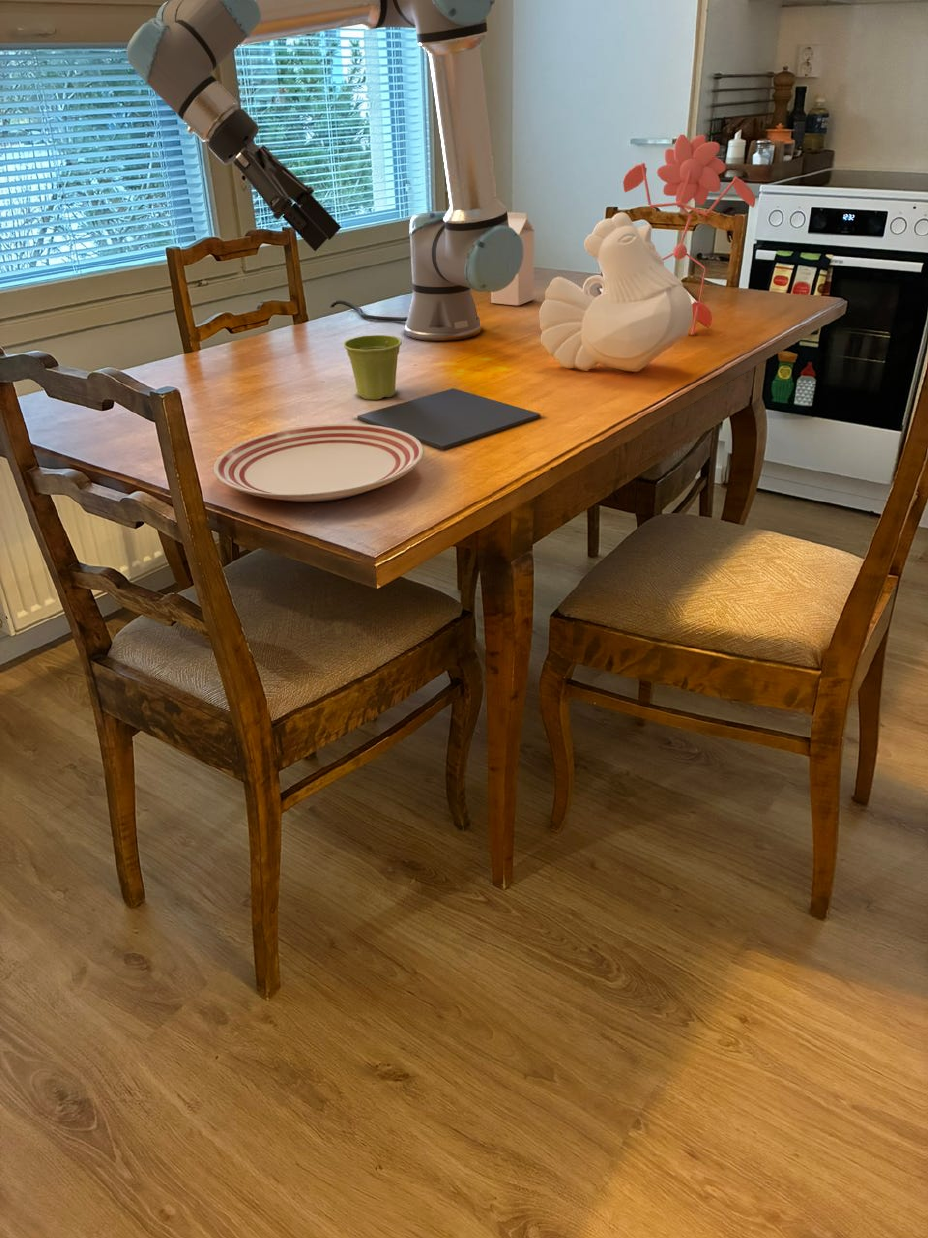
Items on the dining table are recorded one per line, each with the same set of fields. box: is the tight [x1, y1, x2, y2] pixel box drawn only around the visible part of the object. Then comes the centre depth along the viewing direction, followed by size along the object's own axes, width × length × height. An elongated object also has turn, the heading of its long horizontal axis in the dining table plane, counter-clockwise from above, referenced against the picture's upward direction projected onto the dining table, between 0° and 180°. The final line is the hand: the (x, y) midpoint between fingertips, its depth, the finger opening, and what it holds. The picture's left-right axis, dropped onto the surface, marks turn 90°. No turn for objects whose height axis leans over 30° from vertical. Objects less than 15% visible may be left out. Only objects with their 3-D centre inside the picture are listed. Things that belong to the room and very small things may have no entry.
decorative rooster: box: [538, 211, 694, 373], centre depth 166 cm, size 25×16×25 cm
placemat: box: [356, 387, 542, 451], centre depth 148 cm, size 20×20×1 cm
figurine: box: [622, 134, 756, 338], centre depth 187 cm, size 15×26×35 cm, turn 64°
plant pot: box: [343, 334, 403, 401], centre depth 157 cm, size 9×9×9 cm
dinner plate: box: [213, 423, 425, 503], centre depth 127 cm, size 27×27×3 cm
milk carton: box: [490, 211, 535, 307], centre depth 215 cm, size 7×7×19 cm
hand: (329, 238), depth 147 cm, fingers open, 13 cm apart
